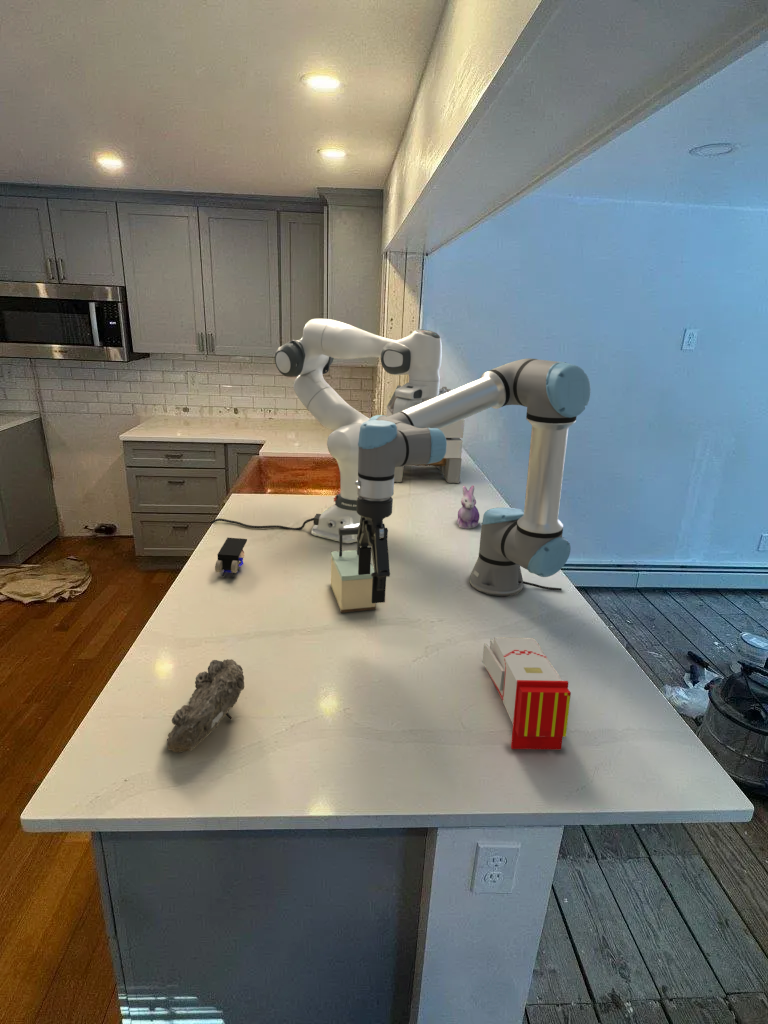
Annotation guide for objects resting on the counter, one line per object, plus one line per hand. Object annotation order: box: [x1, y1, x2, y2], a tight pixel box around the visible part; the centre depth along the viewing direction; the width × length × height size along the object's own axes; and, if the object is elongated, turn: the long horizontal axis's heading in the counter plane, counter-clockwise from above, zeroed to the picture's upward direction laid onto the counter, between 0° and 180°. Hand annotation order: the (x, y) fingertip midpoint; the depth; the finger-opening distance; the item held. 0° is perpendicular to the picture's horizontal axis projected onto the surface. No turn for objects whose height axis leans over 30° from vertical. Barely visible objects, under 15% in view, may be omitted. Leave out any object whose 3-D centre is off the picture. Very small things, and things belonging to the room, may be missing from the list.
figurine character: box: [214, 537, 248, 578], centre depth 166 cm, size 7×8×15 cm
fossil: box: [166, 658, 245, 754], centre depth 106 cm, size 22×10×15 cm
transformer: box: [385, 384, 465, 484], centre depth 268 cm, size 34×33×41 cm
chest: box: [330, 556, 377, 614], centre depth 153 cm, size 15×9×9 cm, turn 15°
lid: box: [330, 527, 374, 581], centre depth 150 cm, size 16×9×9 cm, turn 15°
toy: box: [481, 636, 572, 751], centre depth 115 cm, size 12×13×30 cm
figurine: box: [456, 484, 480, 530], centre depth 209 cm, size 9×10×15 cm
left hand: (420, 437), depth 166 cm, fingers open, 8 cm apart
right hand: (370, 587), depth 125 cm, fingers open, 13 cm apart
